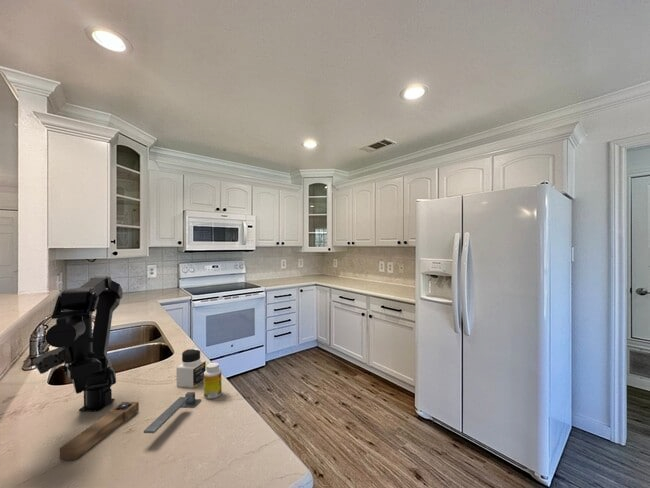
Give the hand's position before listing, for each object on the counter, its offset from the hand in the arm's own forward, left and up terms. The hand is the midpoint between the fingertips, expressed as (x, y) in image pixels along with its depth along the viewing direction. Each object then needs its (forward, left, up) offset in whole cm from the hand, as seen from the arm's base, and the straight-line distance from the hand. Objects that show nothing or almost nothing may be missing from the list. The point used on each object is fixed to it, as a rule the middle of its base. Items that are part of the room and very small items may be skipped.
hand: (78, 392), depth 76 cm
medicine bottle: (+15, +29, -11) cm, 34 cm away
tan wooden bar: (+6, 0, -11) cm, 12 cm away
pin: (+6, +8, -11) cm, 15 cm away
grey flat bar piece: (+23, +7, -11) cm, 26 cm away
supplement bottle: (+27, +21, -11) cm, 36 cm away
